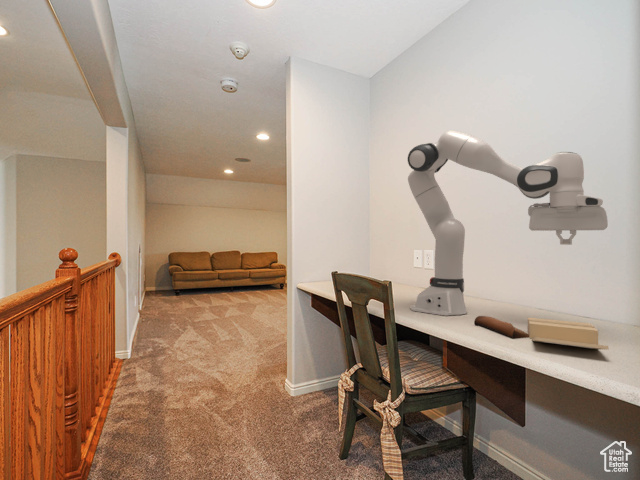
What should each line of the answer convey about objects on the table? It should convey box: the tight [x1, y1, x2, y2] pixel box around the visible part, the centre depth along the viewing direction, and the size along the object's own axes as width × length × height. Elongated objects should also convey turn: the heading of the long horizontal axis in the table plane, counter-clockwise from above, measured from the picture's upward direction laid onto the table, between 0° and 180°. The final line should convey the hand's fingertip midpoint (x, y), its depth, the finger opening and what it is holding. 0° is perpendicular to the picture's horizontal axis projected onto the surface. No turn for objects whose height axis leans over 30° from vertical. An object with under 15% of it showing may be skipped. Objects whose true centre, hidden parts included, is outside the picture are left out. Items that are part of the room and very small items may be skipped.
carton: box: [527, 317, 599, 345], centre depth 97 cm, size 16×9×5 cm, turn 60°
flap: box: [531, 337, 609, 350], centre depth 88 cm, size 15×1×12 cm
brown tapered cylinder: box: [473, 315, 529, 340], centre depth 106 cm, size 18×7×7 cm
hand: (565, 244), depth 105 cm, fingers closed
